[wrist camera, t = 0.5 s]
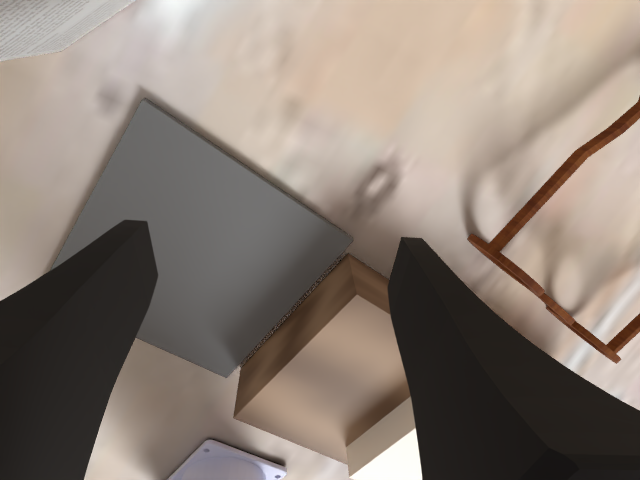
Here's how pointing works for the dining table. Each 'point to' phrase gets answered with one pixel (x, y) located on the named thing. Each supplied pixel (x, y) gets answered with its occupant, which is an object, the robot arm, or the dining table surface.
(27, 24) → the skincare box
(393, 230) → the dining table surface
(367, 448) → the cream rectangular slab
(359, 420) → the brown wooden block
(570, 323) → the glasses
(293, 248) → the mat
